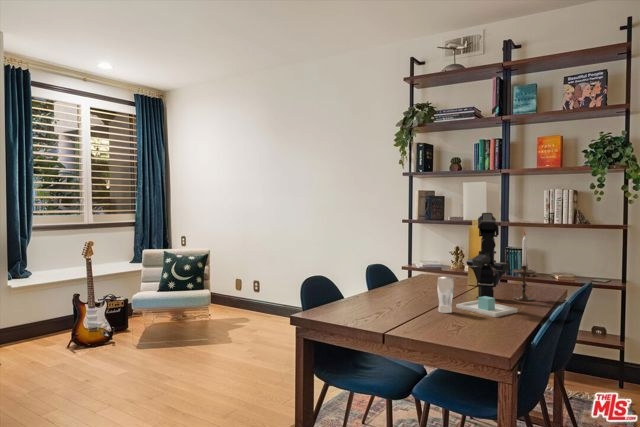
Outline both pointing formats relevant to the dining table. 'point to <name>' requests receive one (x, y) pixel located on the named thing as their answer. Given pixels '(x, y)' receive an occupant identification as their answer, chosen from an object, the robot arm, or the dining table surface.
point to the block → (486, 303)
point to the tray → (498, 311)
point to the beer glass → (445, 294)
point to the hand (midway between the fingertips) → (487, 283)
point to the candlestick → (524, 273)
